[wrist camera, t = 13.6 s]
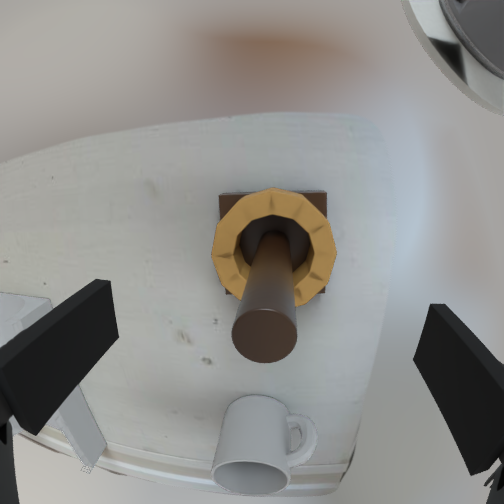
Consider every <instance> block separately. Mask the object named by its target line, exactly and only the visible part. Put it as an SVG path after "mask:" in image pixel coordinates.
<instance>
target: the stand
mask: <svg viewBox="0 0 504 504" xmlns="http://www.w3.org/2000/svg"><path fill="white" fill-rule="evenodd" d="M291 192H295V193H299V194H302V195H303V196H304V197H305V198H306V199H308V200H309V201H310V202H311V203H312V204H313V205H314V206H315V207H316V208H317V209H318V210H319V211H320V212H321V213H322V214H323V215H324V216H325V218H326V219H327V192H325V191H291ZM252 193H256V192H240V193H223V194H220V195H219V208H220V221H221V220H222V218H223V217H224V216H225V215H226V214H227V213H228V212H229V211H230V210H231V208H232V207H233V206H234V205H235V204H236V203H237V202H238V201H239V200H240V199H241V198H243V197H244V196H246V195H249V194H252ZM239 246H240V249H241V251H242V254H243V257H244V260H245V262H246V263H247V264H248V265H249V266H250V267H251V269H250V272H249V276H248V279H247V282H246V285H245V289H244V292H243V295H242V298H241V302H240V305H239V308H238V311H237V315H236V318H235V321H234V324H233V328H232V341H233V344H234V346H235V348H236V349H237V350H238V352H239V353H240V354H241V355H243V356H244V357H245V358H247V359H249V360H251V361H254V362H258V363H272V362H276V361H279V360H281V359H283V358H285V357H286V356H287V355H288V354H290V352H291V351H292V350H293V348H294V347H295V345H296V342H297V324H296V310H295V297H294V285H293V272H294V271H295V270H296V269H297V268H298V267H299V266H300V265H302V264H303V263H304V262H305V261H306V258H307V254H308V251H309V247H310V240H309V236H308V233H307V232H306V231H305V230H304V229H303V228H302V227H301V226H300V225H299V224H298V223H297V222H296V221H295V220H294V219H290V218H286V217H281V216H277V215H273V214H272V215H268V216H265V217H262V218H258V219H255V220H252V221H251V222H250V223H249V224H248V225H247V226H246V227H245V228H244V229H243V230H242V234H241V239H240V244H239ZM225 290H226V294H232V293H231V292H229V291H228V290H227V289H226V288H225ZM319 293H325V287H323V288H322V289H321V290H320V291H319V292H318V293H317V294H319Z"/></svg>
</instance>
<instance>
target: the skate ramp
mask: <svg viewBox="0 0 504 504" xmlns="http://www.w3.org/2000/svg"><path fill="white" fill-rule="evenodd" d="M51 310H53V309H52V305H51V302H50V299H46V298H38V297H29V296H22V295H14V294H7V293H0V347H2V346H3V345H4V344H7V342H8V341H9V340H11V339H13V337H14V336H16V335H17V334H18V333H20V332H21V331H22V330H24V329H27V328H28V327H30V326H31V325H32V324H34V323H35V322H36V321H38V320H39V319H40V318H42V317H43V316H44V315H46V314H47V313H48V312H50V311H51ZM9 421H10V423H11V425H12V435H13V436H14V435H16V434H18V433H19V432H21V431H23V430H24V429H22V428H21V427H20V426H19V424H18V422H17V421H16V419H15V417H14V415H13V416H12V417H11V418H10V419H9ZM45 425H48V426H51V427H53V428H56V429H58V430H61V431H63V432H62V433H64V434H65V436H66V437H65V438H67V439H68V441H69V442H68V443H70V444H71V445H70V446H72V447H73V448H72V449H74V450H75V452H76V453H75V454H77V455H78V456H77V457H79V458H80V459H81V460H80V459H79V460H80V461H82V462H83V464H84V465H86V466H89V467H92V468H94V466H95V464H96V463H97V461H98V459H99V457H100V456H101V454H102V452H103V450H104V449H105V447H106V445H107V443H106V441H105V439H104V437H103V435H102V433H101V432H100V430H99V428H98V426H97V424H96V422H95V420H94V418H93V415H92V413H91V411H90V409H89V407H88V405H87V403H86V400H85V398H84V396H83V394H82V391H81V389H80V387H79V384H78V385H77V386H76V388H75V389H74V390H73V391H72V392H71V394H70V395H69V396H68V397H67V398H66V400H65V401H64V402H63V403H62V404H61V406H60V407H59V408H58V409H57V411H56V412H55V413H54V414H53V415H52V417H51V418H50V419H49V420H48V422H47V423H46V424H45ZM64 434H63V435H64ZM67 439H66V440H67ZM74 450H73V451H74ZM90 472H91V470H90Z"/></svg>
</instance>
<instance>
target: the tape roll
mask: <svg viewBox="0 0 504 504" xmlns="http://www.w3.org/2000/svg"><path fill="white" fill-rule="evenodd" d="M272 214H273V215H277V216H281V217H286V218H290V219H294V220H295V221H296V222H297V223H298V224H299V225H300V226H301V227H302V228H303V229H304V230H305V231H306V232H307V233H308V236H309V240H310V247H309V251H308V254H307V258H306V261H305V262H304V263H303V264H302V265H300V266H299V267H298V268H297V269H296V270H295V271H294V272H293V285H294V297H295V307H297V306H301V305H304V304H306V303H307V302H308V301H309V300H311V299H312V298H313V297H314V296H315V295H316V294H317V293H318V292H319V291H320V290H321V289H322V288H323V287H325V286H326V285H327V283H328V281H329V278H330V275H331V272H332V268H333V265H334V262H335V258H336V255H337V251H336V247H335V243H334V239H333V235H332V231H331V227H330V223H329V222H328V220H327V219H326V218H325V216H324V215H323V214H322V213H321V212H320V211H319V210H318V209H317V208H316V207H315V206H314V205H313V204H312V203H311V202H310V201H309V200H308V199H306V198H305V197H304V196H303V195H302V194H299V193H295V192H291V191H286V190H282V189H278V188H269V189H265V190H262V191H259V192H256V193H252V194H249V195H246V196H244V197H243V198H241V199H240V200H239V201H238V202H237V203H236V204H235V205H234V206H233V207H232V208H231V210H230V211H229V212H228V213H227V214H226V215H225V216H224V217H223V218H222V220H221V221H220V222H219V223H218V224H217V227H216V232H215V237H214V243H213V248H212V254H211V255H212V260H213V263H214V265H215V268H216V271H217V273H218V276H219V279H220V281H221V284H222V285H223V286H224V287H225V288H226V289H227V290H228V291H229V292H231V293H232V294H233V295H234V296H235V297H236V298H238V299H239V300H240V301H241V298H242V295H243V292H244V289H245V285H246V282H247V279H248V276H249V272H250V269H251V267H250V266H249V265H248V264H247V263H246V262H245V260H244V257H243V254H242V251H241V249H240V246H239V244H240V239H241V234H242V230H243V229H244V228H245V227H246V226H247V225H248V224H249V223H250V222H251V221H252V220H255V219H258V218H262V217H265V216H268V215H272Z"/></svg>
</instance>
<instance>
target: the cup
mask: <svg viewBox="0 0 504 504" xmlns="http://www.w3.org/2000/svg"><path fill="white" fill-rule="evenodd" d="M295 428H299V430H300V432H301V443H300V445H299V447H298V448H297V449H296V450H294V451H292V452H291V429H295ZM317 440H318V433H317V428H316V426H315V423H314V422H313V421H312V420H311V419H310V418H309V417H307V416H305V415H302V414H290V412H289V411H288V409H287V408H286V406H284V405H283V404H282V403H281V402H279V401H278V400H276V399H274V398H271V397H267V396H263V395H250V396H245V397H242V398H239V399H237V400H236V401H234V402H232V403H231V404H230V405H229V407H228V408H227V411H226V413H225V416H224V420H223V424H222V428H221V432H220V437H219V441H218V445H217V449H216V453H215V457H214V461H213V465H212V469H211V478H212V479H213V481H214V482H215V483H216V484H217V485H218V486H220V487H221V488H223V489H225V490H227V491H230V492H233V493H236V494H240V495H246V496H266V495H272V494H275V493H278V492H281V491H282V490H284V489H286V488H287V487H288V485H289V484H290V480H291V468H293V467H297V466H300V465H302V464H304V463H305V462H307V461H308V460H309V459H310V458H311V457H312V455H313V453H314V451H315V449H316V446H317Z"/></svg>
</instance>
